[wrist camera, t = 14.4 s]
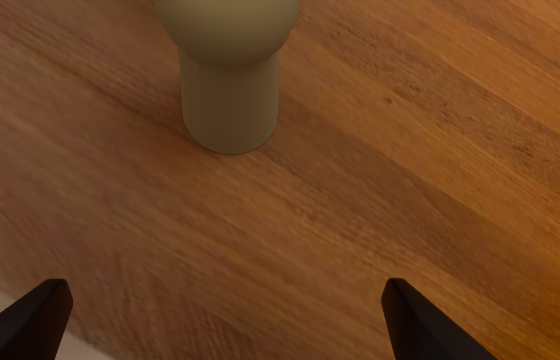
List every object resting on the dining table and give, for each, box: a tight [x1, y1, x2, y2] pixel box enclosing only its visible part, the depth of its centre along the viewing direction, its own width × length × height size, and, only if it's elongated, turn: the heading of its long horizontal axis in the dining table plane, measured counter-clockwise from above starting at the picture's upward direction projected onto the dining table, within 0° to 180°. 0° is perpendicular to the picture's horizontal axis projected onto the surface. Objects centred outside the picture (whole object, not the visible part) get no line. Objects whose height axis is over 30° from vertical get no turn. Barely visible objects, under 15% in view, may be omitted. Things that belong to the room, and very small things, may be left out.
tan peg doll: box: [153, 0, 299, 155], centre depth 15 cm, size 6×6×11 cm
